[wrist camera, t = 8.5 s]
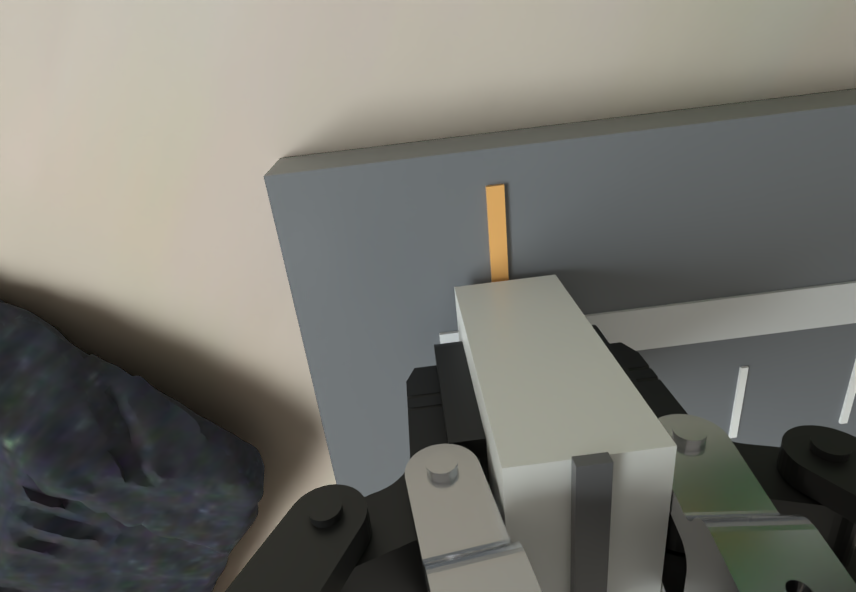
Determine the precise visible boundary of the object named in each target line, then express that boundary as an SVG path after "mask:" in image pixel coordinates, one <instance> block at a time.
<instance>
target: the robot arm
mask: <svg viewBox="0 0 856 592" xmlns="http://www.w3.org/2000/svg"><path fill="white" fill-rule="evenodd" d="M592 327H593V328H594V330H595V331H596V332H597V334H598V335H599V337H600V338H601V339H602V341H603V342H604V344H605V345H606V346H607V348H608V349H609V351H610V352H611V353H612V355H613V356H614V358H615V359H616V361H617V362H618V363H619V365H620V366H621V368H622V369H623V370H624V372H625V373H626V375H627V376H628V377H629V379H630V380H631V382H632V383H633V384H634V386H635V387H636V389H637V390H638V392H639V393H640V394H641V396H642V397H643V399H644V400H645V401H646V403H647V404H648V406H649V407H650V408H651V410H652V411H653V413H654V414H655V415H656V417H657V418H658V420H659V421H660V423H661V424H662V425H663V427H664V428H665V430H666V431H667V432H668V434H669V435H670V437H671V438H672V439H673V441H674V442H675V444H676V445H677V450H676V459H675V468H674V477H673V485H672V494H671V503H670V512H669V520H668V529H667V538H666V547H665V555H664V564H663V573H662V582H661V590H660V592H856V437H854V436H852V435H850V434H848V433H845V432H843V431H840V430H837V429H833V428H829V427H824V426H816V425H803V426H797V427H794V428H791V429H789V430H788V431H787V432H785V433H784V435H783V437H782V441H781V446H780V447H774V446H763V445H753V444H744V443H737V442H732V441H731V439H730V438H729V436H728V435H727V434H726V432H725V431H724V430H723V429H721V428H720V427H719V426H717V425H716V424H714V423H712V422H711V421H709V420H706V419H704V418H701V417H697V416H693V415H688V414H687V412H686V411H685V410H684V409H683V407H682V406H681V405H680V404H679V402H678V401H677V400H676V399H675V397H674V396H673V395H672V394H671V392H670V391H669V390H668V389H667V387H666V386H665V385H664V384H663V382H662V381H661V380H660V379H659V380H658V376H657V375H656V374H655V372H654V371H653V370H652V369H651V368H649V365H648V364H647V362H646V361H645V360H644V359H643V357H642V356H641V355H640V354H639V352H637V351H635V350H633V349H632V348H630V347H628V346H627V345H625V344H623V343H621V342H618V343H609V342H608V341H607V339H606V338H605V337H604V335H603V334H602V332H601V331H600V330H599V328H598V327H597V326H596V325H592ZM434 351H435V360H436V365H434V366H426V367H418V368H414V370H413V371H412V373H411V375H410V376H409V378H408V380H407V381H406V386H407V406H408V425H409V445H410V460H409V461H408V463H407V465H406V468H405V472H404V474H403V475H402V476H401V477H400V478H399V479H398V480H397V481H396V482H394V483H393V484H392V485H390V486H388V487H387V488H385V489H382V490H380V491H378V492H375V493H373V494H370V495H368V496H365V497H364V496H363V495H362V494H361V493H360V492H359V491H358V490H356V489H355V488H353V487H350V486H347V485H339V484H334V485H327V486H322V487H319V488H317V489H314V490H312V491H310V492H308V493H307V494H305V495H304V496H302V497H301V498H300V499H299V500H298V501H297V502H296V503H295V504H294V505H293V506H292V508H291V509H290V510H289V511H288V513H287V514H286V515H285V516H284V518H283V519H282V520H281V521H280V523H279V524H278V525H277V527H276V528H275V529H274V530H273V532H272V533H271V534H270V535H269V537H268V538H267V539H266V540H265V542H264V543H263V544H262V545H261V547H260V548H259V549H258V551H257V552H256V553H255V554H254V556H253V557H252V558H251V559H250V561H249V562H248V563H247V564H246V566H245V567H244V568H243V569H242V571H241V572H240V573H239V575H238V576H237V577H236V578H235V580H234V581H233V582H232V583H231V585H230V586H229V587H228V588H227V590H226V591H225V592H542V591H541V588H540V586H539V584H538V581H537V579H536V576H535V574H534V572H533V569H532V567H531V564H530V562H529V560H528V557H527V555H526V553H525V551H524V549H523V547H522V545H521V544H520V543H519V542H518V541H515V542H512V541H511V540H510V537H509V535H508V533H507V530H506V528H505V525H504V523H503V520H502V518H501V515H500V513H499V510H498V507H497V505H496V502H495V500H494V497H493V495H492V492H491V490H490V484H489V471H488V458H487V445H486V436H485V432H484V428H483V424H482V420H481V416H480V412H479V408H478V404H477V399H476V395H475V391H474V387H473V383H472V379H471V375H470V371H469V367H468V363H467V358H466V354H465V350H464V346H463V342H462V341H459V342H451V343H443V344H435V345H434Z"/></svg>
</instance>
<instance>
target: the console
mask: <svg viewBox="0 0 856 592" xmlns="http://www.w3.org/2000/svg"><path fill="white" fill-rule="evenodd" d="M264 179H265V184H266V188H267V192H268V196H269V201H270V205H271V209H272V213H273V217H274V222H275V226H276V230H277V234H278V239H279V243H280V247H281V251H282V255H283V260H284V264H285V268H286V272H287V277H288V281H289V285H290V289H291V293H292V298H293V302H294V306H295V310H296V315H297V319H298V323H299V327H300V331H301V336H302V340H303V344H304V348H305V353H306V357H307V361H308V365H309V369H310V374H311V378H312V382H313V386H314V391H315V395H316V399H317V403H318V407H319V412H320V416H321V420H322V424H323V429H324V433H325V437H326V441H327V445H328V450H329V454H330V458H331V462H332V467H333V471H334V475H335V479H336V483H337V484H339V485H347V486H350V487H353V488H355V489H356V490H358V491H359V492H360V493H361V494H362V495H363V496H364V497H365V496H368V495H370V494H373V493H375V492H378V491H380V490H382V489H385V488H387V487H388V486H390V485H392V484H393V483H394V482H396V481H397V480H398V479H399V478H400V477H401V476H402V475H403V474H404V472H405V468H406V465H407V463H408V461H409V460H410V445H409V425H408V406H407V386H406V381H407V380H408V378H409V376H410V375H411V373H412V371H413V370H414V368H418V367H426V366H434V365H436V360H435V351H434V345H435V344H443V343H451V342H459V333H458V322H457V312H456V301H455V291H454V287H459V286H467V285H475V284H483V283H491V282H499V281H507V280H515V279H523V278H531V277H539V276H547V275H556V276H557V277H558V279H559V280H560V282H561V283H562V284H563V286H564V287H565V289H566V290H567V292H568V293H569V294H570V296H571V297H572V299H573V300H574V301H575V303H576V304H577V306H578V307H579V308H580V310H581V311H582V313H583V314H584V315H585V317H586V318H587V320H588V321H589V323H590V324H591V325H596V326H597V327H598V328H599V330H600V331H601V332H602V334H603V335H604V337H605V338H606V339H607V341H608V342H609V343H618V342H621V343H623V344H625V345H627V346H628V347H630V348H632V349H633V350H635V351H637V352H639V354H640V355H641V356H642V357H643V359H644V360H645V361H646V362H647V364H648V365H649V368H651V369H652V370H653V371H654V372H655V374H656V375H657V376H658V380H659V379H660V380H661V381H662V382H663V384H664V385H665V386H666V387H667V389H668V390H669V391H670V392H671V394H672V395H673V396H674V397H675V399H676V400H677V401H678V402H679V404H680V405H681V406H682V407H683V409H684V410H685V411H686V412H687V414H688V415H693V416H697V417H701V418H704V419H706V420H709V421H711V422H712V423H714V424H716V425H717V426H719V427H720V428H721V429H723V430H724V431H725V432H726V434H727V435H728V436H729V438H730V439H731V441H732V442H737V443H744V444H753V445H763V446H774V447H780V446H781V441H782V437H783V435H784V433H785V432H787V431H788V430H789V429H791V428H794V427H797V426H803V425H816V426H824V427H829V428H833V429H837V430H840V431H843V432H845V433H848V434H850V435H852V436H854V437H856V89H849V90H841V91H833V92H824V93H816V94H808V95H800V96H791V97H783V98H775V99H766V100H758V101H750V102H742V103H733V104H725V105H717V106H708V107H700V108H692V109H684V110H675V111H667V112H659V113H650V114H642V115H634V116H626V117H617V118H609V119H601V120H592V121H584V122H576V123H568V124H559V125H551V126H543V127H534V128H526V129H518V130H510V131H501V132H493V133H485V134H476V135H468V136H460V137H452V138H443V139H435V140H427V141H418V142H410V143H402V144H394V145H385V146H377V147H369V148H360V149H352V150H344V151H336V152H327V153H319V154H311V155H302V156H294V157H286V158H280V159H279V160H278V161H277V162H276V163H275V165H274V166H273V167H272V168H271V169H270V170H269V171H268V172H267V173H266V174H265V175H264Z"/></svg>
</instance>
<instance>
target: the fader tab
mask: <svg viewBox="0 0 856 592" xmlns="http://www.w3.org/2000/svg"><path fill="white" fill-rule="evenodd" d="M454 291H455V301H456V312H457V322H458V333H459V341H462V342H463V346H464V350H465V354H466V358H467V363H468V367H469V371H470V375H471V379H472V383H473V387H474V391H475V395H476V399H477V404H478V408H479V412H480V416H481V420H482V424H483V428H484V432H485V436H486V445H487V458H488V471H489V484H490V490H491V492H492V495H493V497H494V500H495V502H496V505H497V507H498V510H499V513H500V515H501V518H502V520H503V523H504V525H505V528H506V530H507V533H508V535H509V537H510V540H511V541H512V542H515V541H518V542H519V543H520V544H521V545H522V547H523V549H524V551H525V553H526V555H527V557H528V560H529V562H530V564H531V567H532V569H533V572H534V574H535V576H536V579H537V581H538V584H539V586H540V588H541V591H542V592H660V590H661V582H662V573H663V564H664V555H665V547H666V538H667V529H668V520H669V512H670V503H671V494H672V485H673V477H674V468H675V459H676V450H677V445H676V444H675V442H674V441H673V439H672V438H671V437H670V435H669V434H668V432H667V431H666V430H665V428H664V427H663V425H662V424H661V423H660V421H659V420H658V418H657V417H656V415H655V414H654V413H653V411H652V410H651V408H650V407H649V406H648V404H647V403H646V401H645V400H644V399H643V397H642V396H641V394H640V393H639V392H638V390H637V389H636V387H635V386H634V384H633V383H632V382H631V380H630V379H629V377H628V376H627V375H626V373H625V372H624V370H623V369H622V368H621V366H620V365H619V363H618V362H617V361H616V359H615V358H614V356H613V355H612V353H611V352H610V351H609V349H608V348H607V346H606V345H605V344H604V342H603V341H602V339H601V338H600V337H599V335H598V334H597V332H596V331H595V330H594V328H593V327H592V325H591V324H590V323H589V321H588V320H587V318H586V317H585V315H584V314H583V313H582V311H581V310H580V308H579V307H578V306H577V304H576V303H575V301H574V300H573V299H572V297H571V296H570V294H569V293H568V292H567V290H566V289H565V287H564V286H563V284H562V283H561V282H560V280H559V279H558V277H557V276H556V275H547V276H539V277H531V278H523V279H515V280H507V281H499V282H491V283H483V284H475V285H467V286H459V287H454Z"/></svg>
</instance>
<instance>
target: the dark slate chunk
mask: <svg viewBox="0 0 856 592" xmlns="http://www.w3.org/2000/svg"><path fill="white" fill-rule="evenodd" d="M263 487H264V464H263V461H262V458H261V456H260V454H259V452H258V450H257V449H256V448H255V447H254V446H252V445H251V444H249V443H247V442H245V441H243V440H241V439H240V438H238V437H237V436H235V435H234V434H232V433H230V432H228V431H226V430H224V429H223V428H221V427H219V426H218V425H216V424H214V423H213V422H211V421H209V420H207V419H205V418H203V417H201V416H199V415H198V414H196V413H194V412H193V411H191V410H190V409H189V408H187V407H186V406H184V405H183V404H181V403H180V402H178V401H176V400H175V399H173V398H171V397H169V396H167V395H165V394H163V393H161V392H160V391H158V390H157V389H155V388H154V387H152V386H151V385H150V384H149V383H148V382H147V381H146V380H145V379H143V378H142V377H141V376H131V375H129V374H128V373H127V372H125V371H124V370H122V369H121V368H120V367H118V366H116V365H114V364H111V363H109V362H106V361H104V360H102V359H100V358H99V357H97V356H95V355H93V354H91V355H88V354H86V353H85V352H83V351H82V350H80V349H79V348H77V347H75V346H74V345H72V344H71V343H70V342H69V341H68V340H67V339H66V338H65V337H64V336H63V335H62V334H61V333H60V332H59V331H58V330H57V329H56V328H54V327H53V326H52V325H50V324H49V323H47V322H45V321H44V320H42V319H41V318H39V317H38V316H36V315H34V314H33V313H31V312H30V311H28V310H26V309H23V308H19V307H16V306H14V305H11V304H7V303H4V302H3V301H2V300H1V299H0V592H213V589H214V586H215V584H216V581H217V579H218V577H219V576H220V575H221V573H222V572H223V570H224V568H225V566H226V564H227V560H228V556H229V553H230V552H231V551H232V549H233V548H234V547H235V545H236V544H237V543H238V542H239V540H240V539H241V538H242V537H243V535H244V534H245V533H246V531H247V530H248V529H249V528H250V526H251V525H252V524H253V522H254V521H255V519H256V517H257V515H258V502H259V501H260V500H261V498H262V496H263Z"/></svg>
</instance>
